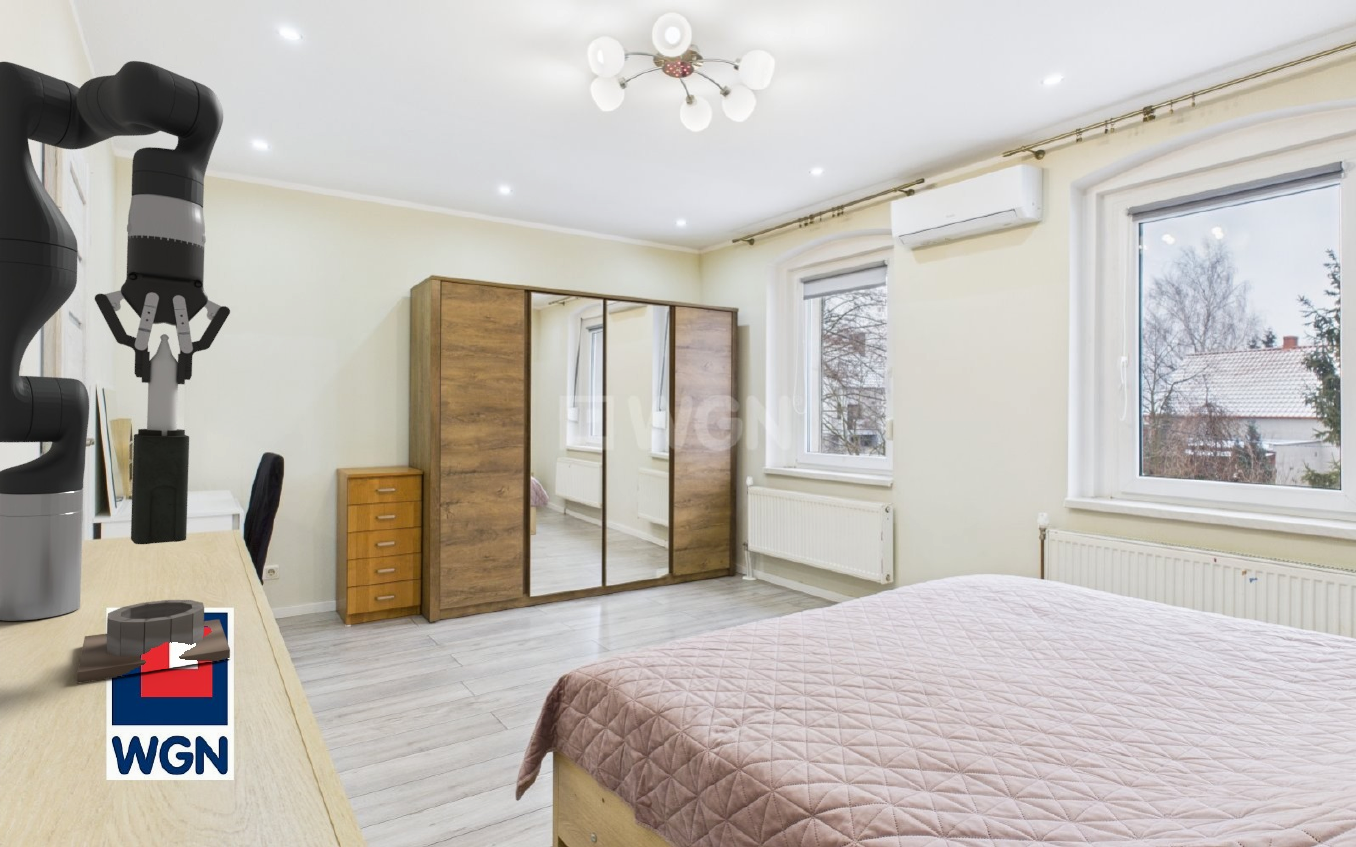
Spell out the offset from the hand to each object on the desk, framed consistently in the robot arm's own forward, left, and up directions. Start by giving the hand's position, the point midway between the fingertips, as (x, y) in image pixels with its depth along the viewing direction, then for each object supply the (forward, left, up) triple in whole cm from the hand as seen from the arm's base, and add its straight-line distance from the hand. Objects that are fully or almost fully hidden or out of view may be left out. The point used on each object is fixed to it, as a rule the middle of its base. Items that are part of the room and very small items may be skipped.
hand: (163, 382), depth 85 cm
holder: (0, 0, -33) cm, 33 cm away
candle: (0, 0, -19) cm, 19 cm away
